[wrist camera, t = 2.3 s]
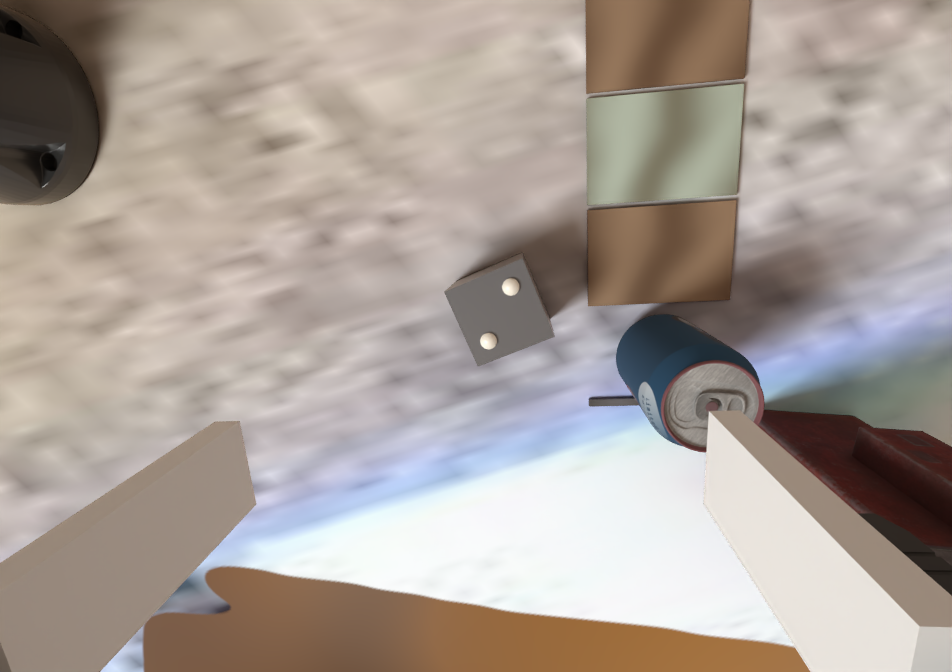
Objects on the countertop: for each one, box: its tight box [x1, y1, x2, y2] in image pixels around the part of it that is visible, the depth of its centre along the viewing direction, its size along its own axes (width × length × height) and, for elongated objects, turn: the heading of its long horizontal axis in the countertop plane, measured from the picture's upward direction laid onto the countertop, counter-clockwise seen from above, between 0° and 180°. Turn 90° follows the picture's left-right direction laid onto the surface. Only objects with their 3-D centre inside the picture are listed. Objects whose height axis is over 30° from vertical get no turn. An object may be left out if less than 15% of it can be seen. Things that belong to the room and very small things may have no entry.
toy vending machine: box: [758, 410, 952, 566], centre depth 26 cm, size 9×11×28 cm
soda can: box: [616, 314, 764, 452], centre depth 33 cm, size 7×7×12 cm
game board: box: [586, 0, 750, 406], centre depth 36 cm, size 11×32×1 cm, turn 4°
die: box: [444, 253, 555, 366], centre depth 36 cm, size 6×6×6 cm
